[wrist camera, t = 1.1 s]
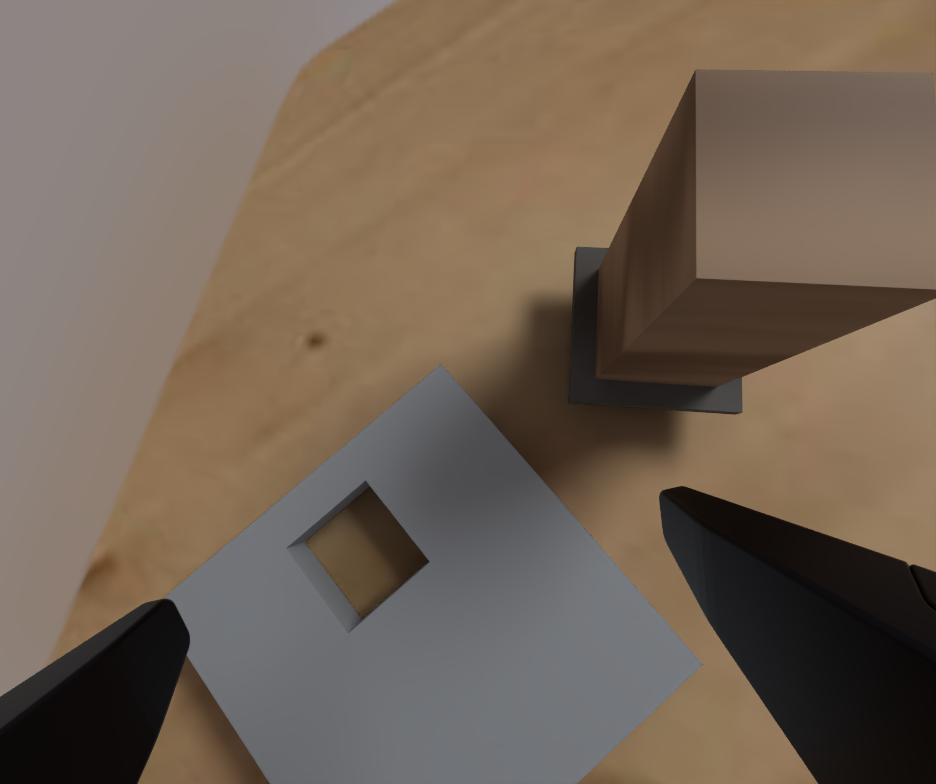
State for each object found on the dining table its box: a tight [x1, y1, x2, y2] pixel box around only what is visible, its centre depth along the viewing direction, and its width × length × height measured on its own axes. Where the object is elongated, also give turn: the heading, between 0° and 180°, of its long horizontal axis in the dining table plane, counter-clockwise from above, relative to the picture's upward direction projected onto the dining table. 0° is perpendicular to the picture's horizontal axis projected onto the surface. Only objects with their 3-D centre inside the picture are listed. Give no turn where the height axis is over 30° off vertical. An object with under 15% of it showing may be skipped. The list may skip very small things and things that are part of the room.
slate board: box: [163, 364, 703, 784], centre depth 20 cm, size 16×16×2 cm
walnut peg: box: [568, 70, 936, 414], centre depth 16 cm, size 7×7×13 cm
